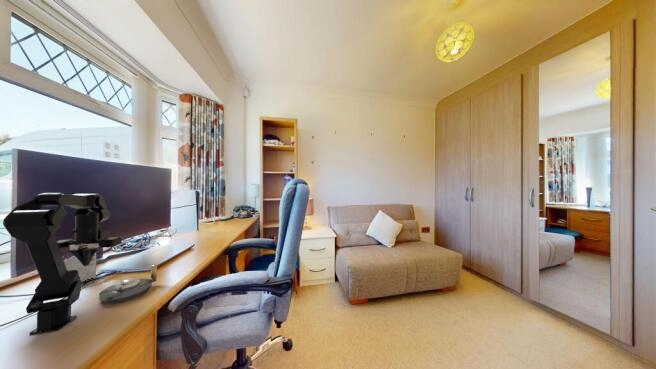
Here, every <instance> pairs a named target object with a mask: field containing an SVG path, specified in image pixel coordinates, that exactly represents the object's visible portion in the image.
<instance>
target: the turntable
mask: <svg viewBox="0 0 656 369" xmlns="http://www.w3.org/2000/svg"><path fill="white" fill-rule="evenodd" d="M157 278H158V264H157V263H156V264H152V265H150V278H146V277H145V278H139V279H140V281H139V286H137V287H135V288H133V289H130V290H127V291H122V292H116V291H115V284H113V285H110V286H108V287H107V288H104V289H102V290H101V291H100V292H99V293H98V300H99V301H100V302H112V301H118V300H123V299H127V298H130V297H133V296H136V295H139V294H141V293H143V292H145V291H147V290H148V289H149V290H150V289H151V288H152V285H153V283H155V282H157ZM149 290H148V291H149ZM148 291H147V292H148Z"/></svg>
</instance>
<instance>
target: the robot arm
mask: <svg viewBox="0 0 656 369" xmlns="http://www.w3.org/2000/svg"><path fill="white" fill-rule="evenodd" d="M65 206H69V208H72V209H75V210H76V211H75V212H73V213H72V216H73V217H74V219H75V223H74V224H75V225H74V227H75V228H74V229H72V230H71V234H74V239H73V238H72V239H71V238H70V239H60V240H57V236H56V233H57V231H58V230H59V229H60V227H61V226H62V223H61V222H62V221H63V220H64V219H65V217H66V216H67V211H66V209H65ZM43 207H56V209H55V210H54V209H42V208H43ZM110 217H111V212H110V211H109V210H108V206H107V204H106V201H105V199H104V196H102V195H101V194H100V193H74V194H68V193H62V192H42V193H39V194H36V196H34V197H33V198H32V199H30V200H28V201H26V202H24V203H21V204H18V205H17V206H15V207H14V208H13V209H12V210H11V211H10V212H9V213H8V214H7V215H6V216H5V217H4V219H3V221H2V225H3V227H4V228H5V230H6V231H7V232H8V234H9V235H10V237H11V238H14V239H15V240H18V241H21V242H24V243H25V245H26V247H27V249H28V252H29V255H30V256H31V257H30V258H31V260H32V261H33V265H34V266H35V269H36V271H37V274H38V276H39V279H40V282H39V283H38V285H37V286H36V287H35V289H34V294H33V295H32V297H31V299H30V301H29V303H28V304H27V306H26V307H25V311H26V314H27V315H29V314H32V313H36V328H34V329H33V330H31V331H29V334H28V335H34V334H42V333H47V332H48V333H49V332H52V331H53V332H54V331H58V330H60V329H62V328H63V327H65V326H66V325H68V324H69V323H70V322H71V321H73V320H75V319H76V318H77V314H75V315H72V305H73V304H74V303H76V302H77V301H78V300H79V299H80V294H81V291H82V287H83V281H82V282H81V281H80V277H79V274H78V271H77V270H69V271H68V270H67V269H66V266H65V263H64V260H63V257H64V256H63V255H62V251H61V249H62V248H69V250H67V253H70V254H71V255H74V256H75V257H76V258H77V259H78V260H79V261H80V262H81V263H82V265H83V266H88V265H89V263H90V262H91V260H92V258H93V256H94V254H95V252H96V253H97V251H98V250H99V249H101V248H102V249H103V248H106V249H107V248H113V247H116V246H118V245H121V244H122V243H123V239H122V238H121V237H120V236H112V237H111V236H110V232H111V231H109V230H106V229H105V230H104V229H103V230H102V226H99V223H101V222H105V221H107V220H109V218H110ZM109 236H110V237H109ZM58 299H59V300H58ZM51 300H52V301H51ZM47 301H48V302H47Z"/></svg>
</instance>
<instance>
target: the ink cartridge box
mask: <svg viewBox="0 0 656 369" xmlns="http://www.w3.org/2000/svg"><path fill="white" fill-rule="evenodd" d="M64 263H65V266H66V269H67V270H68V271H69V270H77V271H78V274H79V277H80V281H81V282H82V283H83V282H85V280H86V279H89V278H93V277H96V278H97V251H96V252H95V254H94V256H93V258H92V260H91V262H90V263H89V265H88V266H83V265H82V263H81V262H80V261H79V260H78V259H77V258H76V257H75V256H74V257H71V258H69V259H66V260H64ZM86 281H87V280H86Z"/></svg>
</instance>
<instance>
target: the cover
mask: <svg viewBox="0 0 656 369" xmlns="http://www.w3.org/2000/svg"><path fill="white" fill-rule="evenodd" d="M140 279H141V278H138V277H128V278H124V279H121V280H120V281H119V282H117V283H115V284H114V285H115V291H116V292H122V291H127V290H130V289H133V288H135V287H137V286H139V281H140Z"/></svg>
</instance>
